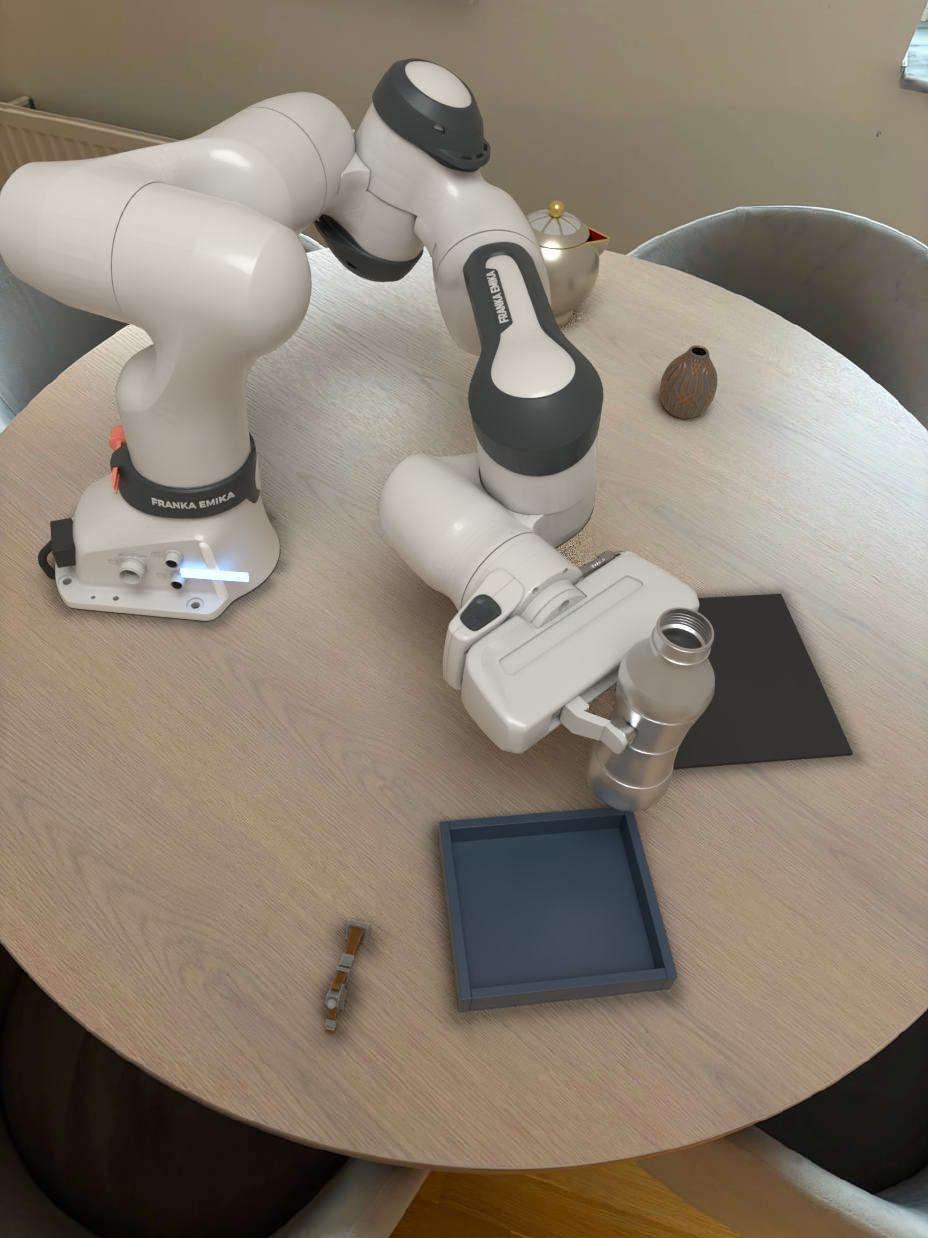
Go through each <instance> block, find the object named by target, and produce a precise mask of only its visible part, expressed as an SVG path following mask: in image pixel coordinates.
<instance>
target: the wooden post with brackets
mask: <svg viewBox="0 0 928 1238" xmlns="http://www.w3.org/2000/svg"><path fill="white" fill-rule="evenodd" d="M346 921H347V922H346V928H345V936H344V939H345V940H347V942H346V947H345V950H344V952H342V954H341V958H340V960H339V962H338V964H337V966H336V970H335V978H334V980H333V981H331V983H330V986H329V989H328V991H327V993H326V995H325V1005H326V1007H327V1008H328V1011H327V1015H326V1019H325V1024H324V1025H325V1031H324V1033H328V1034H332V1035H334V1033H335V1032H336V1026H337V1022H338V1016H339V1013H340V1011H344V1009H345V1001H346V1000H347V996H348V989H346V987H345V984H346V983H347V982H348V981H349V980H350V977H351V972H352V969H353V967H354V965H355V957H356V955H357V953H358V950H359V948H360V946H361V945H362V944H367V943H368V941H369V935H370V934H369V933H370V928H371V927H370V926H371V923H368V922H365V921H360V920H355V919H351V918H347V920H346Z"/></svg>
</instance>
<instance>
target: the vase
mask: <svg viewBox="0 0 928 1238" xmlns="http://www.w3.org/2000/svg"><path fill="white" fill-rule="evenodd" d="M714 365H715V364H714V363H713V361H712V359H711V356H710V352H709V349H708V348H706V347H705V346H703V345H697V344H696V345H692V346H689V348H688V349H687V350H686V351H685V352H684V353H682V354H680V355H678V356H677V357H676V358H674V359H673V360H671V362H670V363H669V364H668V365H667V366H666V368H665V370H664V371H663V374H662V376H661V379H660V385H659V397H660V402H661V404H662V405H663V406H662V407H664V409H665V410H666V411H667V413H668V414H670V415H671V416H673V417H675V418H677V419H685V420H687V419H691V418H692V419H693V418H695V417H697V416H699V415H701V414H703V413H704V412H705V411H706V410H707V409H708V408H709V407H710V406H711V404H712V403H713V400H714V399H715V396H716V394H717V390H718V373H717V370H716V367H715V366H714Z"/></svg>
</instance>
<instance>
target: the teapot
mask: <svg viewBox="0 0 928 1238" xmlns="http://www.w3.org/2000/svg"><path fill="white" fill-rule="evenodd" d="M525 217H526V219H527V220H528V222H529V224H530V226H531V228H532V230H533V232H534V234H535V237H536V239H537V241H538V244H539V246H540V249H541V252H542V255H543V259H544V262H545V265H546V269H547V273H548V278H549V284H550V293H551V309H552V312H553V315H554V317H555V320H556V322H557V324H558V326H559V328H560V329H561V328H563V327H565V326H566V325H568V324H569V323H570V321H571V320H572V318H573V316H574V310H575V309H578V307H579V306H581V305H582V303H584V302H585V300H586V299H587V298H588V297H589V295H590V294H591V292H592V291H593V290H594V287H595V285H596V282H597V279H598V276H599V270H600V257H601V255H602V254H603V253H604V252H605V251H606V249H607V248H608V245H609V243H610V240H611V237H610V236H609V235H607V234H605V233H603V232H602V231H601V232H600V231H599V230H597V229H594V228H592V227H590V226H589V225H587V224H586V223H585V222H584V221H582V220H581V219H580V218H579V217H577V216H576V215H574V214H572V213H570V212H567V211H565V205H564V203H563V202H562V201H560V200H557V199H556V200H552V201H551V203H549V205H548V208H544V209H539V210H535V211H533V212H530V213H528V214H526V215H525Z"/></svg>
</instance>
